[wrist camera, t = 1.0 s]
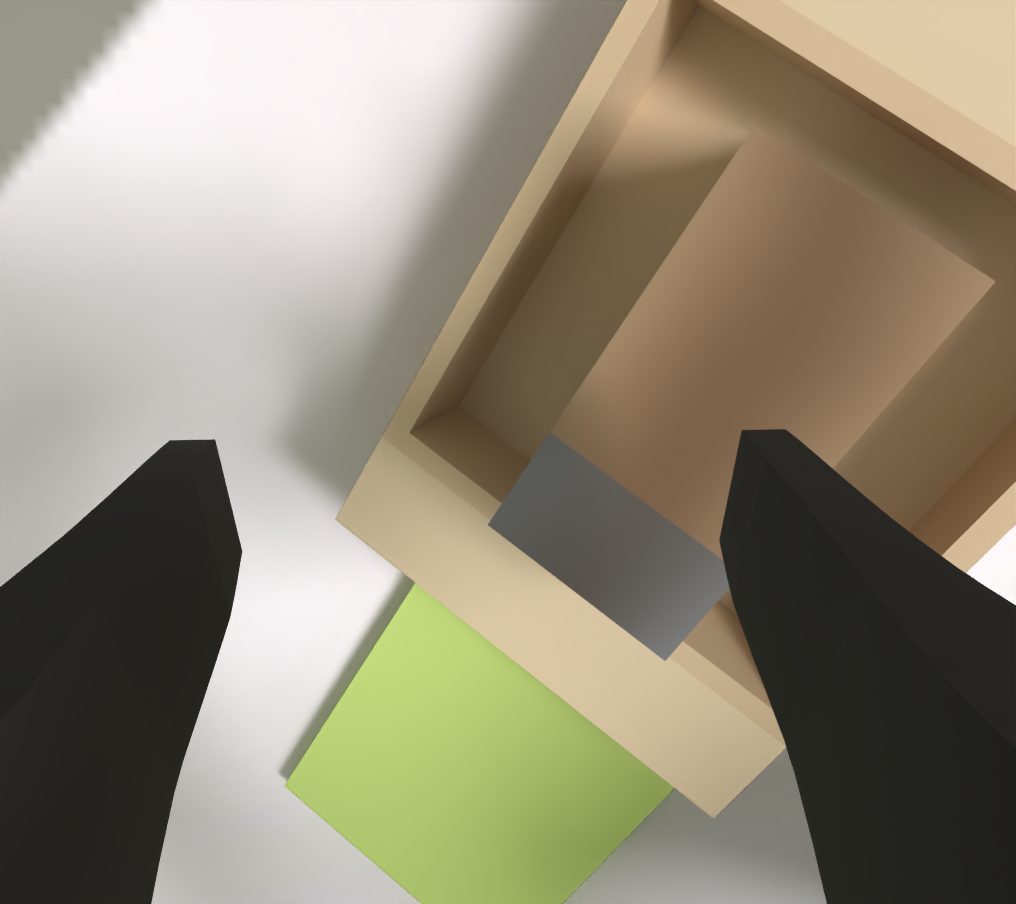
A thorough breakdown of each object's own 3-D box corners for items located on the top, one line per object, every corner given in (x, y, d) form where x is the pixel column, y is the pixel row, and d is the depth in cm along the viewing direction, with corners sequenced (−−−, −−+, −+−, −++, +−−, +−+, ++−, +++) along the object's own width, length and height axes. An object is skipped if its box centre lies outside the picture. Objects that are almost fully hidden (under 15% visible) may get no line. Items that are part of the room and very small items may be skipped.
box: (950, 254, 20) (995, 281, 13) (715, 536, 23) (665, 661, 17) (784, 146, 20) (754, 124, 14) (582, 439, 24) (487, 524, 18)
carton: (1308, 151, 17) (1409, 141, 14) (730, 741, 25) (713, 818, 22) (774, -164, 19) (759, -235, 16) (394, 482, 27) (335, 519, 24)
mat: (701, 751, 26) (698, 763, 25) (504, 956, 31) (498, 969, 30) (440, 548, 27) (432, 555, 27) (293, 776, 32) (284, 785, 32)
